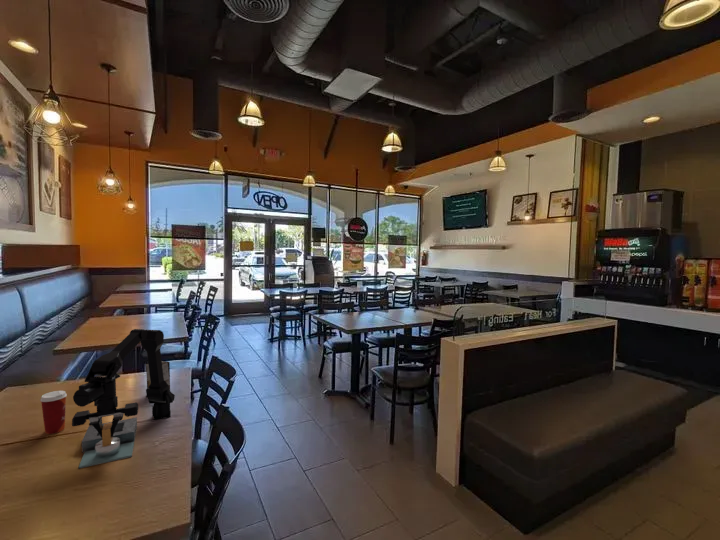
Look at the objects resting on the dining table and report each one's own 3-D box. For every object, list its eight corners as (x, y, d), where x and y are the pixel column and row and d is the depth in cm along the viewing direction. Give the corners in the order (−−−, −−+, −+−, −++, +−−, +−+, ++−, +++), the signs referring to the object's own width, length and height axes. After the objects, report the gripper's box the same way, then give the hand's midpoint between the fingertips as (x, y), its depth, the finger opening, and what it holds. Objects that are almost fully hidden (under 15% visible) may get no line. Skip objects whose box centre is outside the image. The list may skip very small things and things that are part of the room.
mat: (134, 443, 135) (134, 441, 135) (131, 456, 127) (131, 455, 126) (84, 453, 128) (84, 451, 128) (78, 468, 119) (78, 466, 119)
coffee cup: (72, 428, 146) (71, 392, 145) (48, 437, 139) (46, 399, 138) (61, 423, 150) (59, 388, 149) (36, 432, 142) (35, 395, 141)
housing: (137, 426, 148) (136, 417, 147) (134, 441, 136) (134, 431, 136) (89, 435, 140) (88, 426, 140) (82, 452, 129) (81, 441, 128)
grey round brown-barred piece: (121, 443, 132) (120, 419, 132) (118, 453, 126) (118, 428, 125) (97, 448, 129) (96, 424, 128) (93, 458, 122) (92, 433, 122)
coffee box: (170, 392, 183) (170, 361, 182) (160, 397, 177) (159, 365, 176) (157, 390, 186) (156, 359, 185) (146, 394, 180) (145, 363, 179)
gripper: (138, 382, 138) (140, 421, 139) (78, 390, 129) (79, 432, 130) (136, 392, 128) (137, 434, 129) (70, 402, 119) (72, 448, 120)
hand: (107, 437), depth 127 cm, fingers closed on grey round brown-barred piece, 2 cm apart
